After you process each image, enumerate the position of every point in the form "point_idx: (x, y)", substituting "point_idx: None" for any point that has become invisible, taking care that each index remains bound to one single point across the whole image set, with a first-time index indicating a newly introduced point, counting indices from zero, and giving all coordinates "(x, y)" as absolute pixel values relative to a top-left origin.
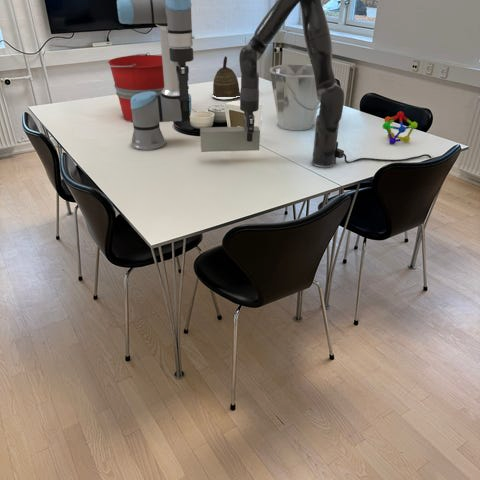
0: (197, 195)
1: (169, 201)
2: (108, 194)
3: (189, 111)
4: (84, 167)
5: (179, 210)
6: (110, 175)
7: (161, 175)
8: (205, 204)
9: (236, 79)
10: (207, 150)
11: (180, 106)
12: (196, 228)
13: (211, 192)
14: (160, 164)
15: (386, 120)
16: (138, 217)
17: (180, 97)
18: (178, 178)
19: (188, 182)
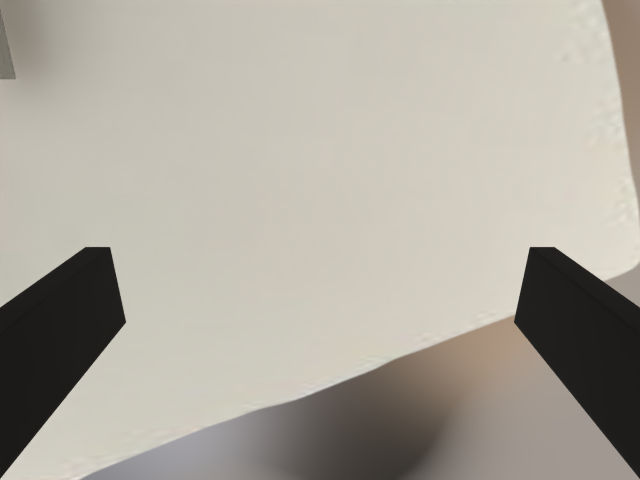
0: (370, 119)
1: (399, 220)
2: (317, 386)
3: (624, 297)
4: (120, 458)
5: (472, 189)
6: (180, 393)
7: (180, 246)
8: (451, 93)
9: None
10: (2, 41)
11: (110, 339)
12: (613, 138)
13: (352, 59)
14: (73, 250)
15: None
16: (483, 305)
17: (46, 413)
18: (209, 186)
19: (248, 149)
